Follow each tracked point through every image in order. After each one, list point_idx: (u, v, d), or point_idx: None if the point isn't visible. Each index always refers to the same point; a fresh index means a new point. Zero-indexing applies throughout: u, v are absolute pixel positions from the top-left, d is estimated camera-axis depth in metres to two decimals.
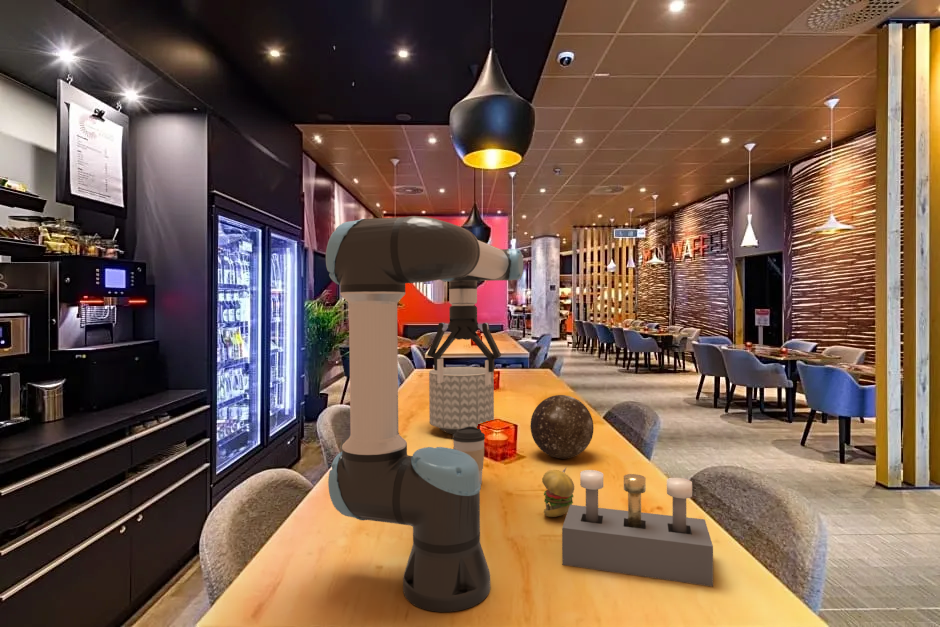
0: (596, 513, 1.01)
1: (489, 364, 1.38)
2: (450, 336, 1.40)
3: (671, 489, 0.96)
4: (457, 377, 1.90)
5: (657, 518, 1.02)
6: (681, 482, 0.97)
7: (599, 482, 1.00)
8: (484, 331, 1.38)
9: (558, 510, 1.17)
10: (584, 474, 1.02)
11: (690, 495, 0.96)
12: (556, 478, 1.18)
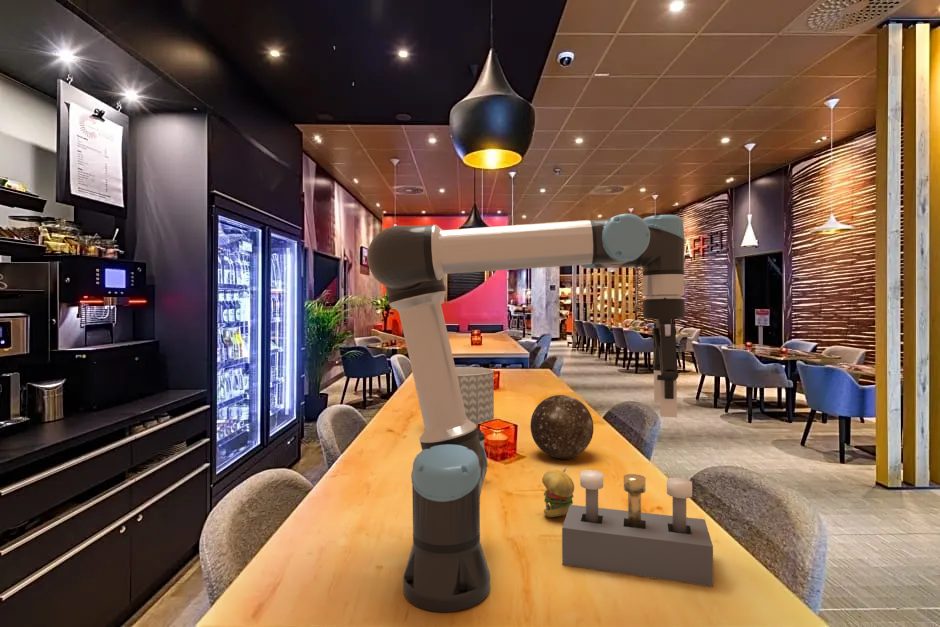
0: (596, 513, 1.01)
1: (664, 386, 0.92)
2: (653, 341, 1.03)
3: (671, 489, 0.96)
4: None
5: (657, 518, 1.02)
6: (681, 482, 0.97)
7: (599, 482, 1.00)
8: (660, 336, 0.94)
9: (558, 510, 1.17)
10: (584, 474, 1.02)
11: (690, 495, 0.96)
12: (557, 478, 1.18)
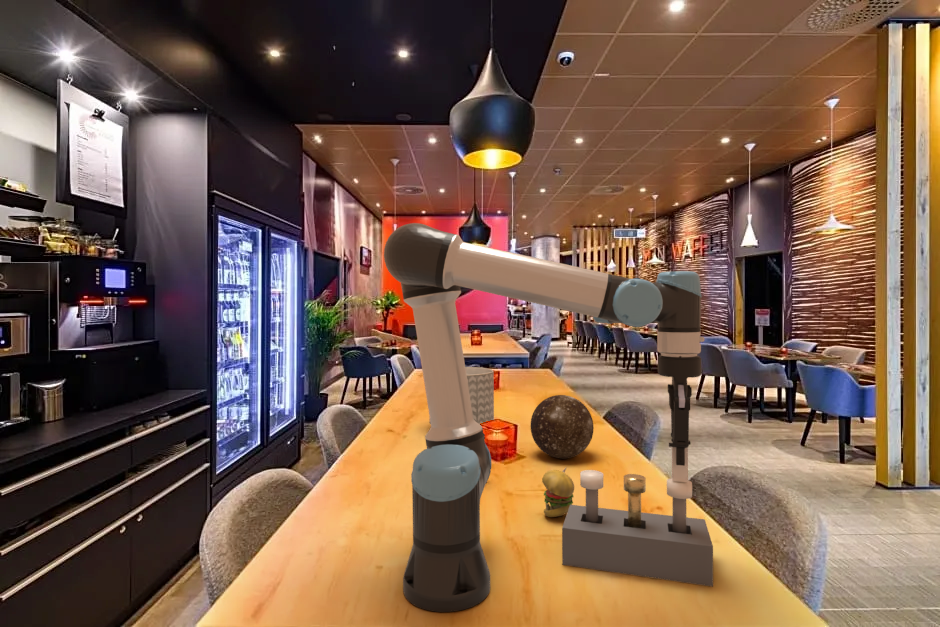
0: (596, 513, 1.01)
1: (676, 452, 0.97)
2: (669, 401, 0.99)
3: (671, 489, 0.96)
4: None
5: (657, 518, 1.02)
6: (681, 483, 0.97)
7: (599, 482, 1.00)
8: (674, 406, 0.93)
9: (558, 510, 1.17)
10: (584, 474, 1.02)
11: (690, 496, 0.96)
12: (557, 478, 1.18)
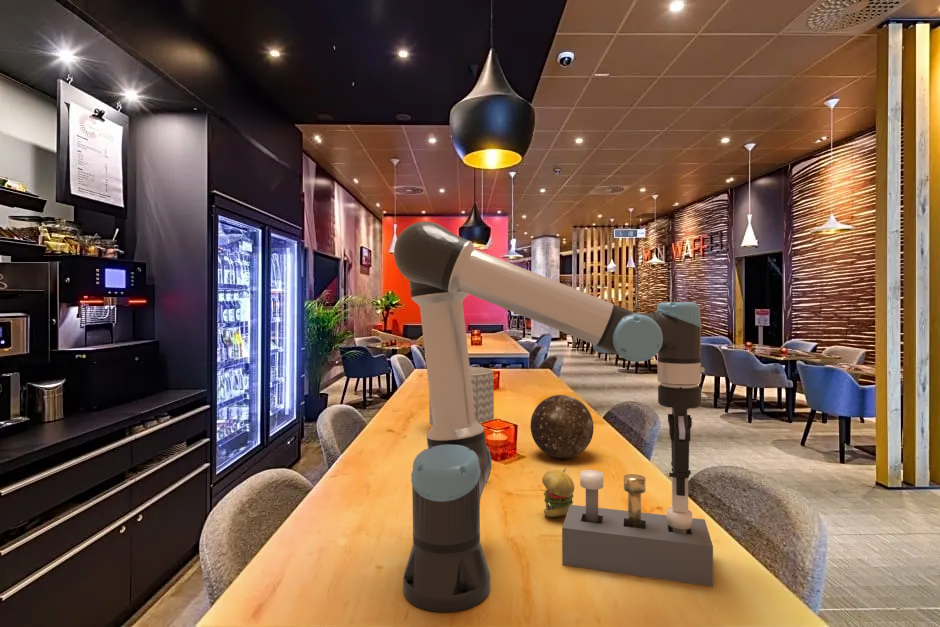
0: (596, 513, 1.01)
1: (676, 483, 0.97)
2: (669, 431, 0.99)
3: (671, 519, 0.96)
4: None
5: (657, 518, 1.02)
6: (681, 513, 0.97)
7: (599, 482, 1.00)
8: (674, 437, 0.93)
9: (558, 510, 1.17)
10: (584, 474, 1.02)
11: (690, 526, 0.96)
12: (556, 478, 1.18)
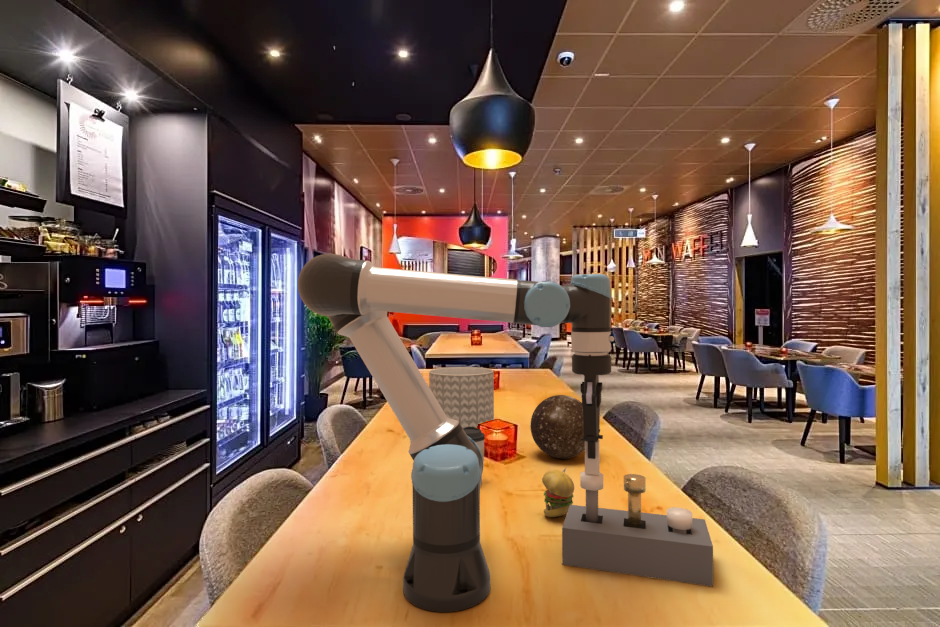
0: (596, 514, 1.01)
1: (588, 446, 1.02)
2: None
3: (671, 519, 0.96)
4: (457, 377, 1.90)
5: (657, 518, 1.02)
6: (681, 513, 0.97)
7: (599, 482, 1.00)
8: None
9: (558, 510, 1.17)
10: (584, 475, 1.02)
11: (690, 526, 0.96)
12: (556, 478, 1.18)
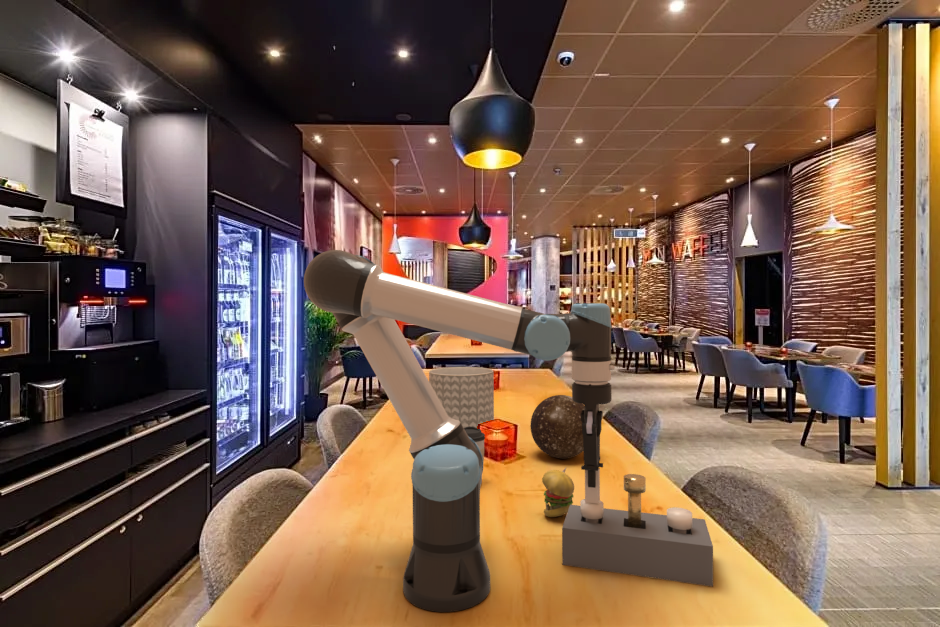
0: None
1: (588, 475, 1.02)
2: None
3: (671, 519, 0.96)
4: (457, 377, 1.90)
5: (657, 518, 1.02)
6: (681, 513, 0.97)
7: (599, 511, 1.01)
8: None
9: (558, 510, 1.17)
10: (584, 503, 1.02)
11: (690, 526, 0.96)
12: (556, 478, 1.18)
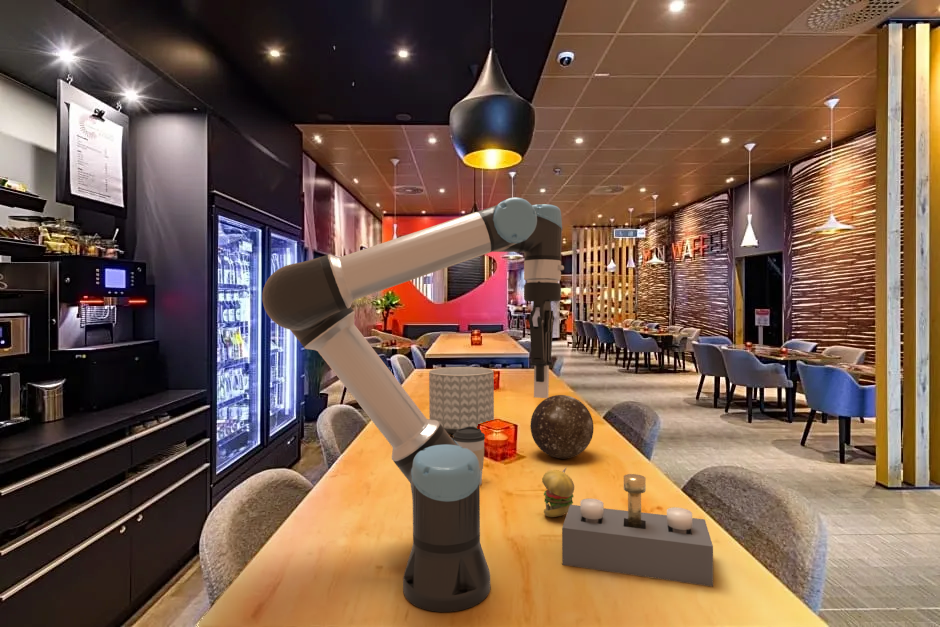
0: None
1: None
2: None
3: (671, 519, 0.96)
4: (457, 377, 1.90)
5: (657, 518, 1.02)
6: (681, 513, 0.97)
7: (599, 511, 1.01)
8: None
9: (558, 510, 1.17)
10: (584, 503, 1.02)
11: (690, 526, 0.96)
12: (557, 478, 1.18)
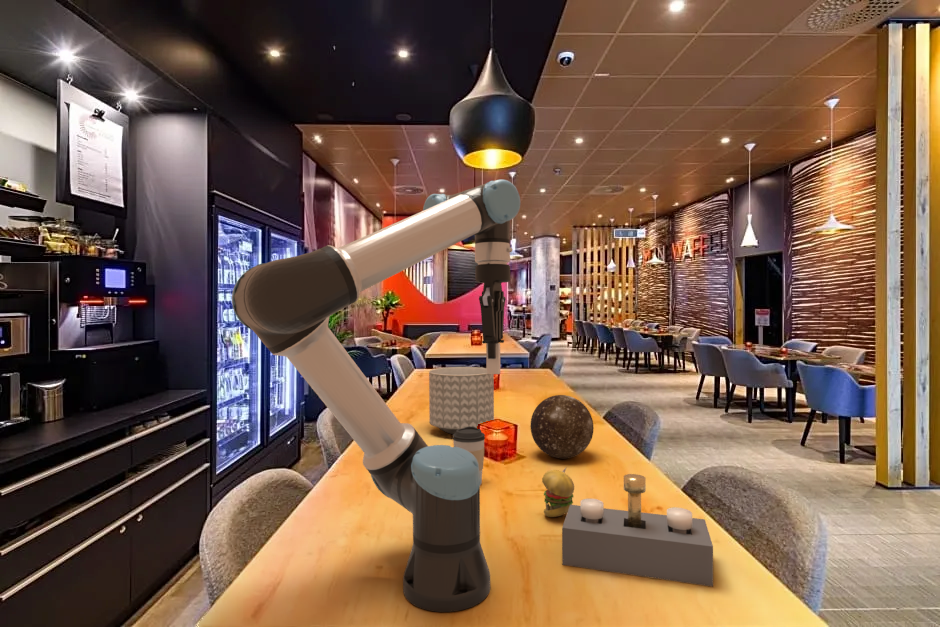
0: None
1: None
2: None
3: (671, 519, 0.96)
4: (457, 377, 1.90)
5: (657, 518, 1.02)
6: (681, 513, 0.97)
7: (599, 511, 1.01)
8: None
9: (558, 510, 1.17)
10: (584, 503, 1.02)
11: (690, 526, 0.96)
12: (556, 478, 1.18)
